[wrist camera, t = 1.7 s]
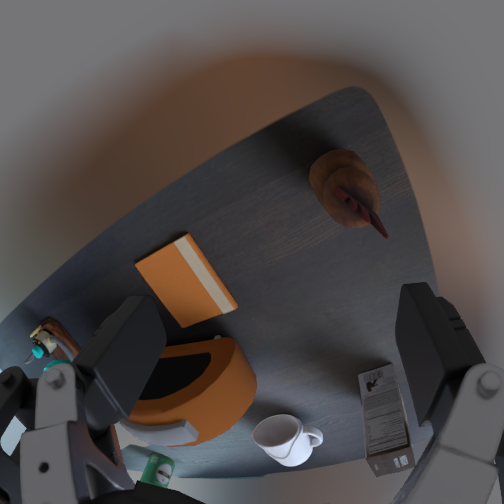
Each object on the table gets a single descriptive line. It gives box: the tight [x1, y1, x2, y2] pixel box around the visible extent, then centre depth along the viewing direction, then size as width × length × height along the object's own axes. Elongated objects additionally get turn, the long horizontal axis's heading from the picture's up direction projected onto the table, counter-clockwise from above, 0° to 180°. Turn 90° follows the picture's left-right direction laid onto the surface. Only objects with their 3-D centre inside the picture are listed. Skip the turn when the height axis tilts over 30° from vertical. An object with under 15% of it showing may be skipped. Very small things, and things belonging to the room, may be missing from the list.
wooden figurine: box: [309, 148, 389, 239], centre depth 25 cm, size 7×6×15 cm
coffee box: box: [358, 364, 415, 477], centre depth 37 cm, size 9×6×16 cm
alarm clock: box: [120, 335, 257, 447], centre depth 40 cm, size 23×9×17 cm, turn 111°
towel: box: [135, 233, 238, 328], centre depth 40 cm, size 12×10×1 cm
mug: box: [252, 414, 323, 466], centre depth 48 cm, size 12×9×8 cm
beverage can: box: [140, 454, 175, 488], centre depth 66 cm, size 8×8×12 cm
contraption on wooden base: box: [25, 318, 81, 372], centre depth 47 cm, size 14×18×15 cm
